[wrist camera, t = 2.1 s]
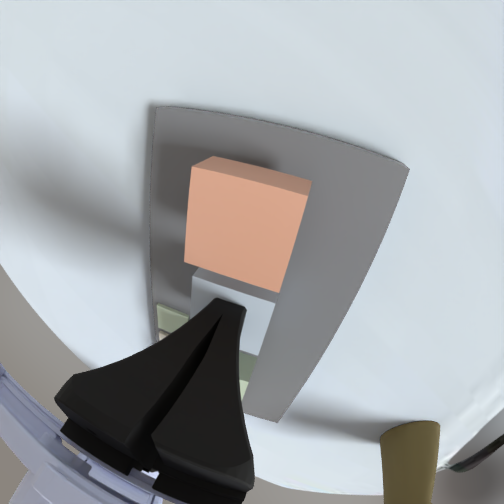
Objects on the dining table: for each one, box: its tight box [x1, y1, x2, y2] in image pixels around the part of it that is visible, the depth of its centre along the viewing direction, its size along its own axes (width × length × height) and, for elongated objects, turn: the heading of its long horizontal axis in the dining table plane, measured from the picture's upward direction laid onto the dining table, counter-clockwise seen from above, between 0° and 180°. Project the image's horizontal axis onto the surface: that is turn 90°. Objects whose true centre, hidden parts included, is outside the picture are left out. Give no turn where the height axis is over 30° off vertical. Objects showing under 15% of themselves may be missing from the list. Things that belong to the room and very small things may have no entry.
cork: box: [380, 421, 440, 504], centre depth 14 cm, size 6×6×11 cm
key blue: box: [190, 267, 279, 356], centre depth 12 cm, size 3×3×2 cm
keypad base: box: [150, 106, 410, 423], centre depth 15 cm, size 20×10×1 cm, turn 169°
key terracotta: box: [184, 156, 312, 293], centre depth 9 cm, size 3×3×2 cm
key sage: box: [239, 352, 257, 401], centre depth 14 cm, size 3×3×2 cm
